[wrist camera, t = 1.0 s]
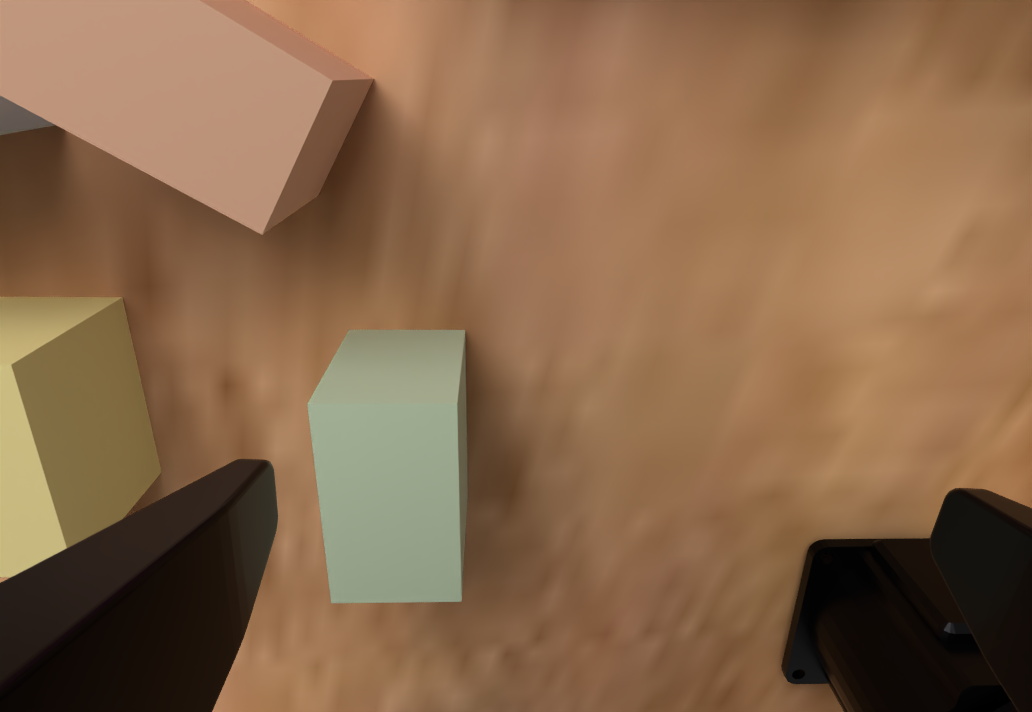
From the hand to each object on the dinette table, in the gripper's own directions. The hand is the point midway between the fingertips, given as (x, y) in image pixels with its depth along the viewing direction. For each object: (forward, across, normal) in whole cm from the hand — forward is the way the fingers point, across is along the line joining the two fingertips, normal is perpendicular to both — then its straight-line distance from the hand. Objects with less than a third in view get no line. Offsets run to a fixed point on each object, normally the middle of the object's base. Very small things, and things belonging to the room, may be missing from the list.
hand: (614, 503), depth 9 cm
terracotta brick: (+12, +8, -5) cm, 15 cm away
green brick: (+12, +4, +5) cm, 13 cm away
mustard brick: (+12, +14, +5) cm, 19 cm away
